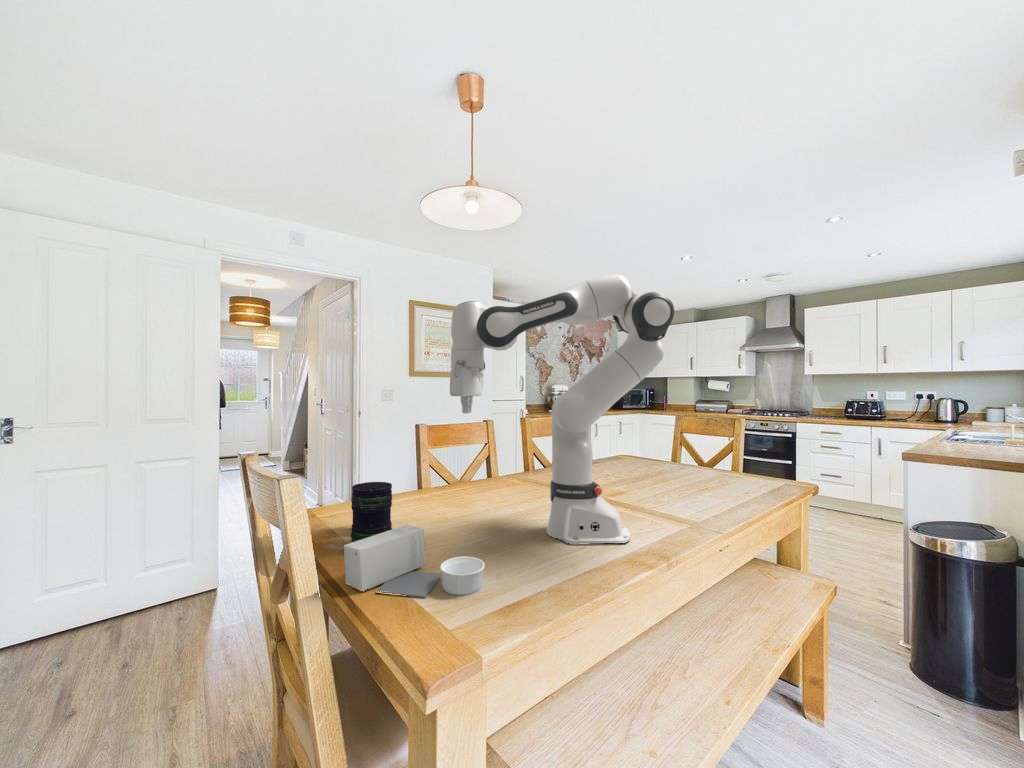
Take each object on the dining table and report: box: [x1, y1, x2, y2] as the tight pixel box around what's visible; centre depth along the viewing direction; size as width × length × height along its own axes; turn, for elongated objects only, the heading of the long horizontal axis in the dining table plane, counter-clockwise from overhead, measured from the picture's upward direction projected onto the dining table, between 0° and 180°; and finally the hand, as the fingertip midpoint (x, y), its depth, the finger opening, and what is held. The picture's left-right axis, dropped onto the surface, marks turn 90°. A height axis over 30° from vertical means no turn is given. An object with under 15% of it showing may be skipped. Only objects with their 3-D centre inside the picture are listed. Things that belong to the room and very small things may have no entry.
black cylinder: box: [350, 481, 393, 543], centre depth 106 cm, size 10×10×15 cm
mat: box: [376, 570, 442, 599], centre depth 84 cm, size 10×10×1 cm
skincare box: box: [343, 524, 426, 592], centre depth 88 cm, size 8×7×16 cm
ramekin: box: [439, 555, 486, 596], centre depth 84 cm, size 9×9×4 cm
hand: (466, 413), depth 113 cm, fingers closed
